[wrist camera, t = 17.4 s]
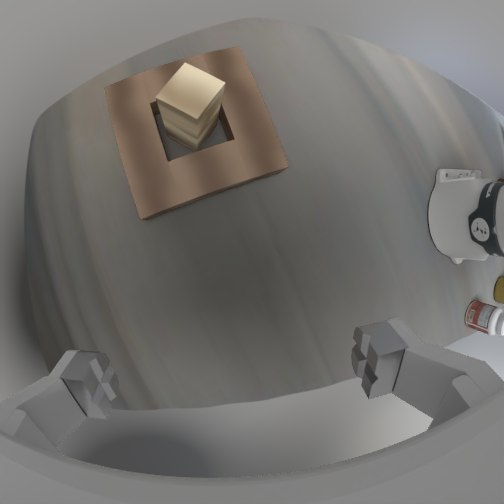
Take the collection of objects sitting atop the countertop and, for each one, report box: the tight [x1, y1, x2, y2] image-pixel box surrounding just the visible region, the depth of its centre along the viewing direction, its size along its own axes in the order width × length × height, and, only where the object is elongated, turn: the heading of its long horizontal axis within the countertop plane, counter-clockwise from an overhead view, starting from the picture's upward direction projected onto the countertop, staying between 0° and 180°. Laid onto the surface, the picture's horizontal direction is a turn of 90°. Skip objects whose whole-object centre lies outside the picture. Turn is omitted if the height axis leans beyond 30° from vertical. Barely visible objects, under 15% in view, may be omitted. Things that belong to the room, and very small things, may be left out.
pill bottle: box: [465, 301, 504, 336], centre depth 41 cm, size 6×6×11 cm
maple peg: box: [156, 63, 226, 152], centre depth 27 cm, size 4×4×12 cm
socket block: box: [104, 47, 289, 220], centre depth 31 cm, size 18×18×4 cm
